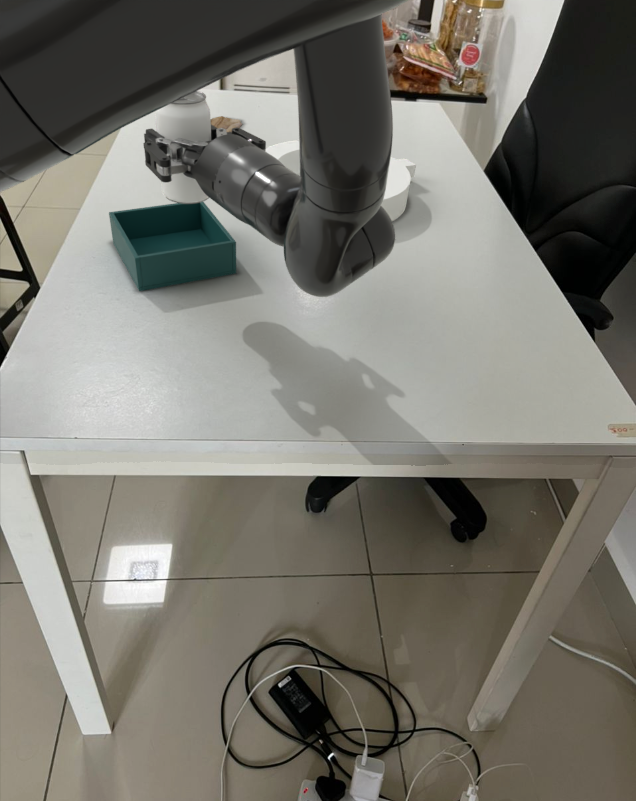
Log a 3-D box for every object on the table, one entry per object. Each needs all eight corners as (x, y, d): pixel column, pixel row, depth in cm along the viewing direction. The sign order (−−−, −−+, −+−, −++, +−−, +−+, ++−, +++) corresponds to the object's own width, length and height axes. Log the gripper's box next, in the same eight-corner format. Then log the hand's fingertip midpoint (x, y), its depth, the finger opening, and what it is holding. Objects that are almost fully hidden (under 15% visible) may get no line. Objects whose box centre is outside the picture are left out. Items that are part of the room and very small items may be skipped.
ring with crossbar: (229, 212, 108) (229, 185, 104) (276, 154, 128) (277, 130, 125) (393, 243, 104) (398, 216, 101) (414, 178, 125) (419, 154, 122)
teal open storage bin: (139, 291, 88) (134, 258, 84) (113, 243, 97) (108, 212, 93) (236, 273, 93) (236, 241, 90) (203, 230, 102) (202, 199, 99)
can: (215, 204, 81) (212, 104, 73) (162, 205, 80) (153, 103, 72) (210, 183, 86) (207, 87, 78) (161, 184, 84) (152, 86, 76)
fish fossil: (203, 115, 142) (203, 109, 141) (247, 125, 141) (247, 120, 141) (155, 153, 123) (155, 147, 122) (205, 165, 122) (206, 159, 121)
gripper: (302, 137, 71) (225, 94, 80) (185, 158, 64) (115, 108, 73) (298, 202, 76) (226, 154, 85) (189, 228, 69) (123, 172, 78)
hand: (175, 133), depth 79 cm, fingers closed on can, 6 cm apart
